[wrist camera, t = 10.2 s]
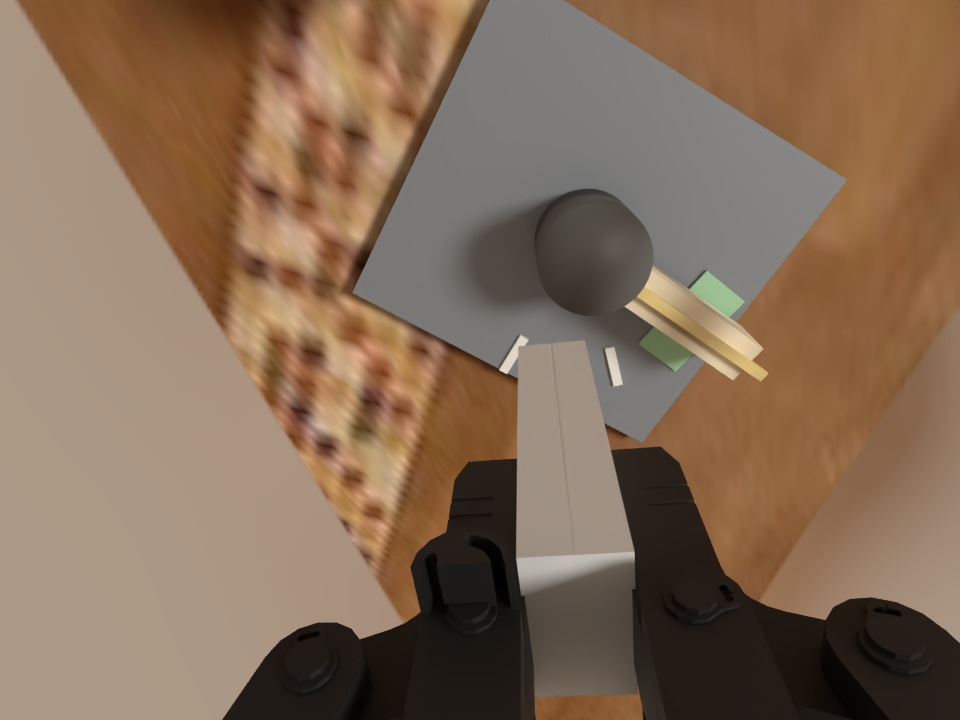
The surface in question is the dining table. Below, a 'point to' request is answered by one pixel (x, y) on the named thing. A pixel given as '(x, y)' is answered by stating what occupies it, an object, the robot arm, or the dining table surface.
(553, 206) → the dial lever
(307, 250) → the dining table surface
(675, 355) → the gauge board
